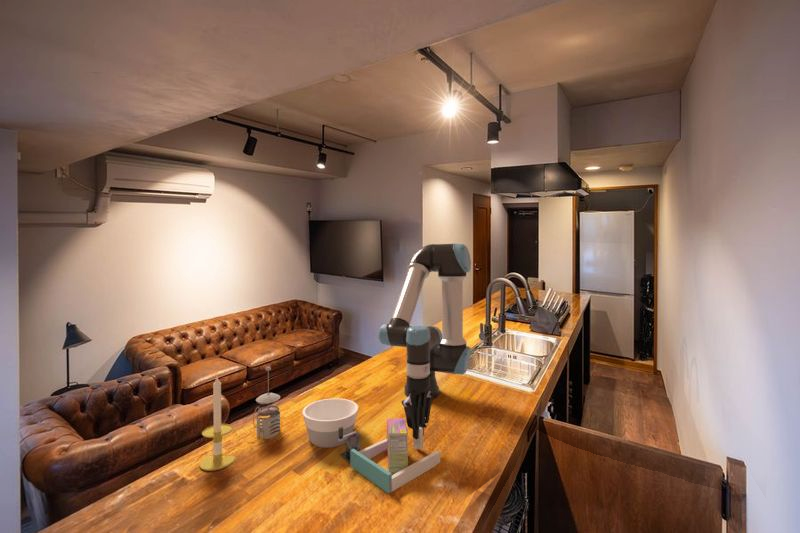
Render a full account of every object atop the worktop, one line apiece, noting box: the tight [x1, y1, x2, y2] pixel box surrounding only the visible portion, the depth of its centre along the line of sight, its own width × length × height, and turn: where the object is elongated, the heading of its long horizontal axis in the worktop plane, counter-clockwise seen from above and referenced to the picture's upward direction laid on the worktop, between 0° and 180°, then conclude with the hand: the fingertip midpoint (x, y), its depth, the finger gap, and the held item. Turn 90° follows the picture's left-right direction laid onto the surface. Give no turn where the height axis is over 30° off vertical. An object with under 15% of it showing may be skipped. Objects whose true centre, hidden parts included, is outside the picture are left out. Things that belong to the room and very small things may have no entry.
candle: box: [199, 376, 236, 472], centre depth 111 cm, size 10×10×27 cm
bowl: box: [301, 398, 360, 448], centre depth 125 cm, size 19×19×11 cm
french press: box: [252, 365, 281, 440], centre depth 126 cm, size 10×12×25 cm
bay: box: [349, 438, 441, 495], centre depth 109 cm, size 17×21×5 cm
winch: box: [338, 427, 361, 464], centre depth 113 cm, size 6×8×11 cm
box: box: [386, 417, 409, 474], centre depth 110 cm, size 10×6×12 cm, turn 5°
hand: (418, 447), depth 116 cm, fingers closed
